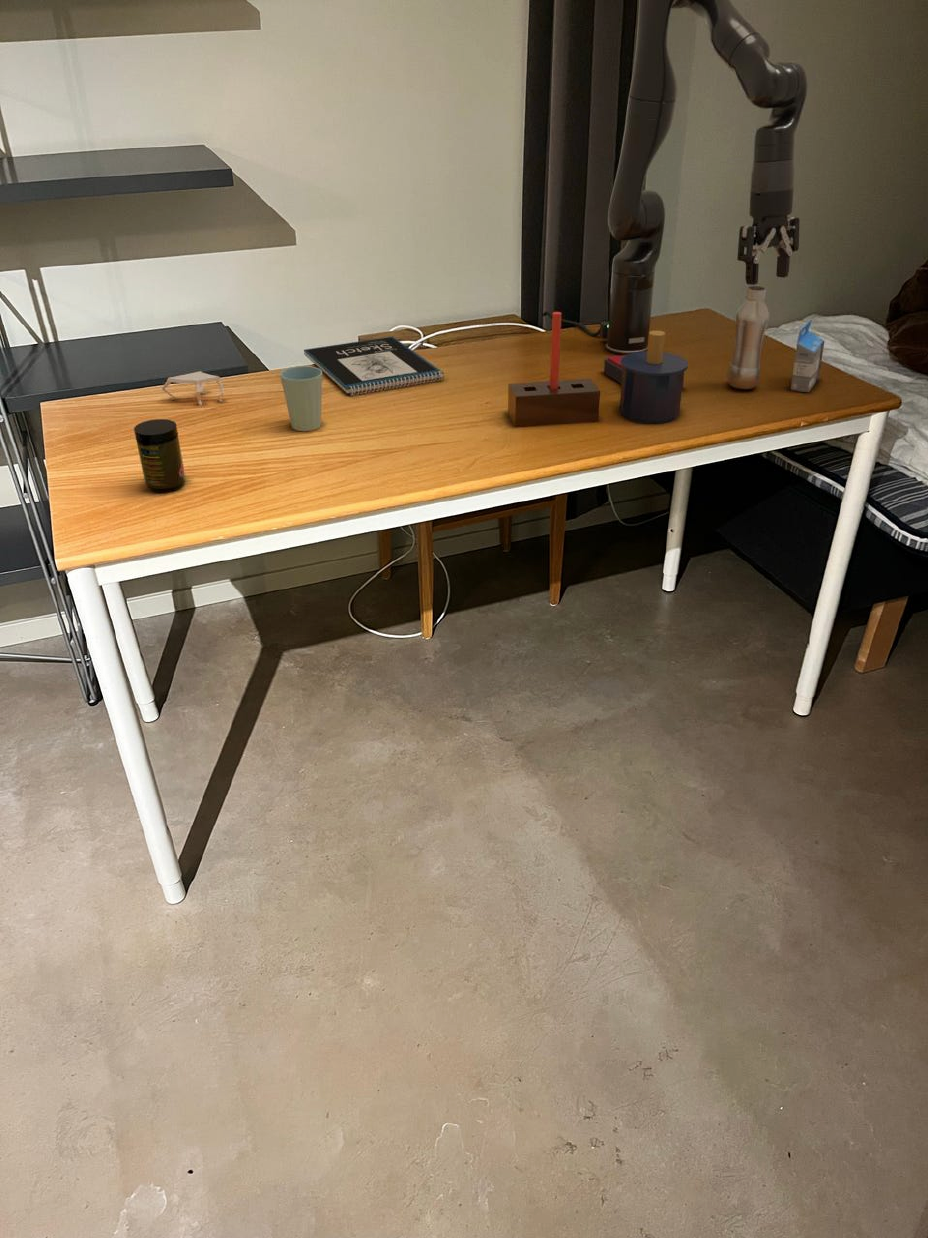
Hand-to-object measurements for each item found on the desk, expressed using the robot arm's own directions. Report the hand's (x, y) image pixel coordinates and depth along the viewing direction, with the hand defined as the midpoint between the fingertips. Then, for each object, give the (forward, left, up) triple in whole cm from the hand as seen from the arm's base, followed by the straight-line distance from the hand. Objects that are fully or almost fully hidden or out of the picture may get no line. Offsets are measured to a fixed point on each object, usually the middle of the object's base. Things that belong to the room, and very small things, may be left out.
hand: (767, 280), depth 187 cm
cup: (0, -89, -23) cm, 91 cm away
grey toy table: (-18, -111, -23) cm, 114 cm away
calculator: (-12, -19, -23) cm, 32 cm away
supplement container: (+22, -113, -23) cm, 117 cm away
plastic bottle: (-5, 0, -23) cm, 23 cm away
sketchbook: (-31, -74, -23) cm, 83 cm away
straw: (+4, -42, -23) cm, 48 cm away
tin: (+5, -23, -23) cm, 32 cm away
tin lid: (+5, -23, -13) cm, 27 cm away
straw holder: (+4, -42, -23) cm, 47 cm away
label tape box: (-4, +13, -23) cm, 27 cm away
